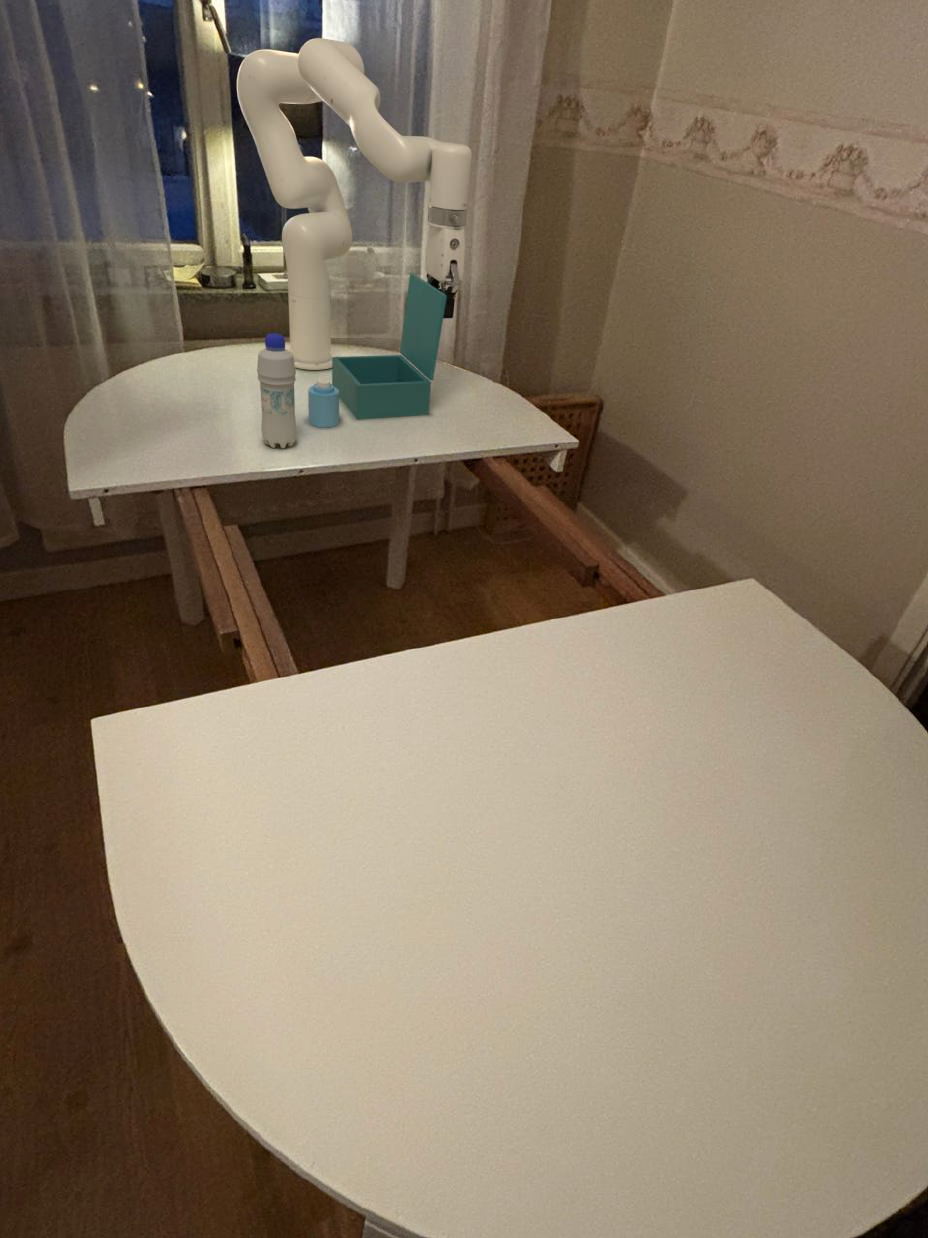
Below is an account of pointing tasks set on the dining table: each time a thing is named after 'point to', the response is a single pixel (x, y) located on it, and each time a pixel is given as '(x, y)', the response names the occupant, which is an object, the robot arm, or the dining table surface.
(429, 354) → the lid
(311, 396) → the water bottle
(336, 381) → the teal hollow box
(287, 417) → the bottle
